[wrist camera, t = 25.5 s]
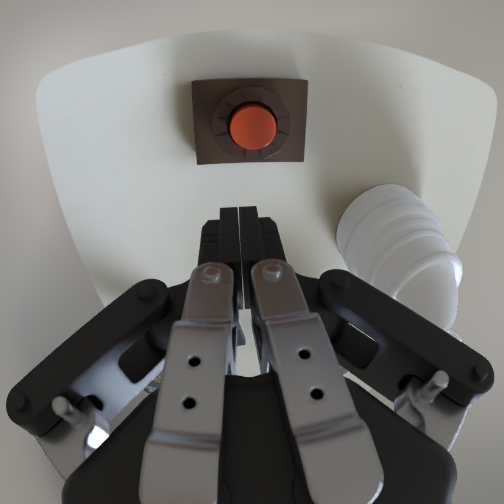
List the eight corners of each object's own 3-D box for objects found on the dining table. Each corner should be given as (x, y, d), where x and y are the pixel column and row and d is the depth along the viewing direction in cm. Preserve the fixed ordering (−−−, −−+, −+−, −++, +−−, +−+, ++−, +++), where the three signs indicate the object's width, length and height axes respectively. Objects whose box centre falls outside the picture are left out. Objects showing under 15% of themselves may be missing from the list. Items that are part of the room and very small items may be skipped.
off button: (230, 144, 23) (230, 150, 21) (229, 104, 20) (229, 107, 19) (272, 143, 23) (275, 149, 21) (273, 104, 20) (277, 106, 19)
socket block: (199, 157, 27) (195, 172, 23) (194, 80, 22) (188, 82, 18) (298, 155, 27) (308, 168, 24) (302, 79, 22) (313, 81, 19)
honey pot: (427, 238, 35) (494, 332, 21) (355, 280, 39) (400, 389, 25) (408, 166, 28) (511, 262, 14) (319, 217, 32) (378, 349, 18)
